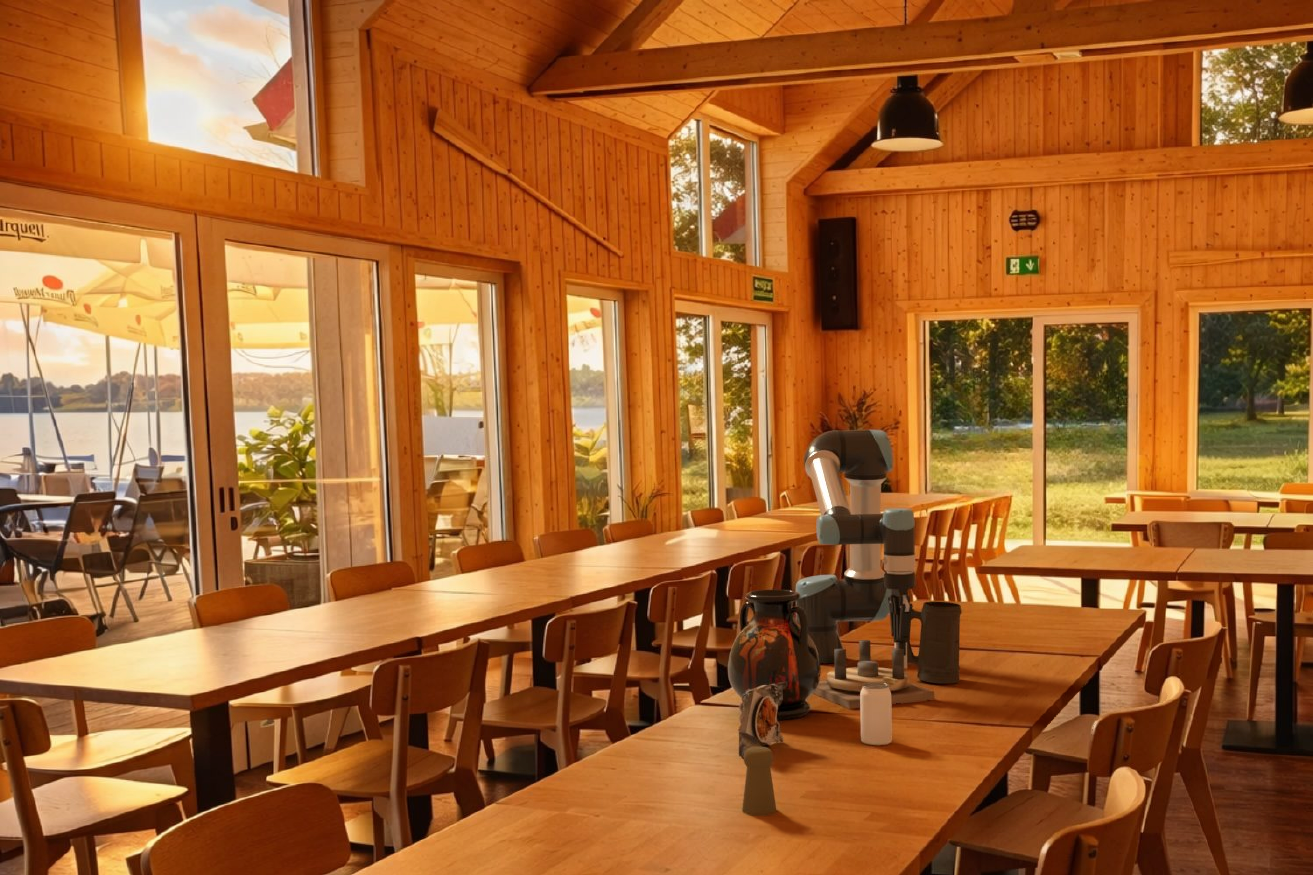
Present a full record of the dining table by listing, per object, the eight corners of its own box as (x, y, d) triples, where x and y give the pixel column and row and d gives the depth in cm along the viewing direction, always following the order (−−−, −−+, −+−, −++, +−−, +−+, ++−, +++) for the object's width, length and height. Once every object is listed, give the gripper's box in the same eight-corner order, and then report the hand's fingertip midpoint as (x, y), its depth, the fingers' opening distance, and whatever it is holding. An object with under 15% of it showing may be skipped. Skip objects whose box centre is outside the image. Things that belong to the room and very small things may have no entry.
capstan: (848, 672, 332) (848, 637, 332) (923, 679, 321) (922, 643, 320) (812, 686, 315) (812, 649, 315) (890, 695, 304) (889, 656, 304)
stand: (805, 690, 325) (804, 680, 325) (885, 682, 333) (885, 673, 333) (849, 708, 303) (849, 699, 303) (934, 699, 311) (934, 690, 311)
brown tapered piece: (739, 805, 230) (738, 744, 230) (773, 804, 230) (772, 742, 230) (744, 816, 224) (743, 752, 224) (779, 814, 224) (778, 751, 224)
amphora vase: (709, 714, 300) (707, 594, 300) (766, 698, 316) (764, 584, 316) (783, 728, 286) (781, 602, 285) (840, 711, 301) (838, 591, 301)
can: (894, 739, 274) (893, 682, 274) (889, 746, 268) (888, 689, 268) (863, 737, 277) (862, 681, 276) (858, 744, 270) (857, 687, 270)
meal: (757, 759, 261) (756, 694, 260) (738, 757, 263) (737, 692, 263) (789, 743, 273) (788, 681, 273) (771, 740, 276) (770, 679, 275)
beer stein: (959, 676, 338) (958, 600, 338) (965, 685, 327) (964, 606, 327) (899, 676, 340) (898, 600, 339) (903, 685, 329) (902, 606, 329)
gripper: (877, 569, 323) (878, 663, 323) (891, 575, 310) (893, 673, 310) (906, 568, 323) (908, 662, 324) (922, 574, 311) (924, 672, 311)
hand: (901, 667), depth 317 cm, fingers closed
